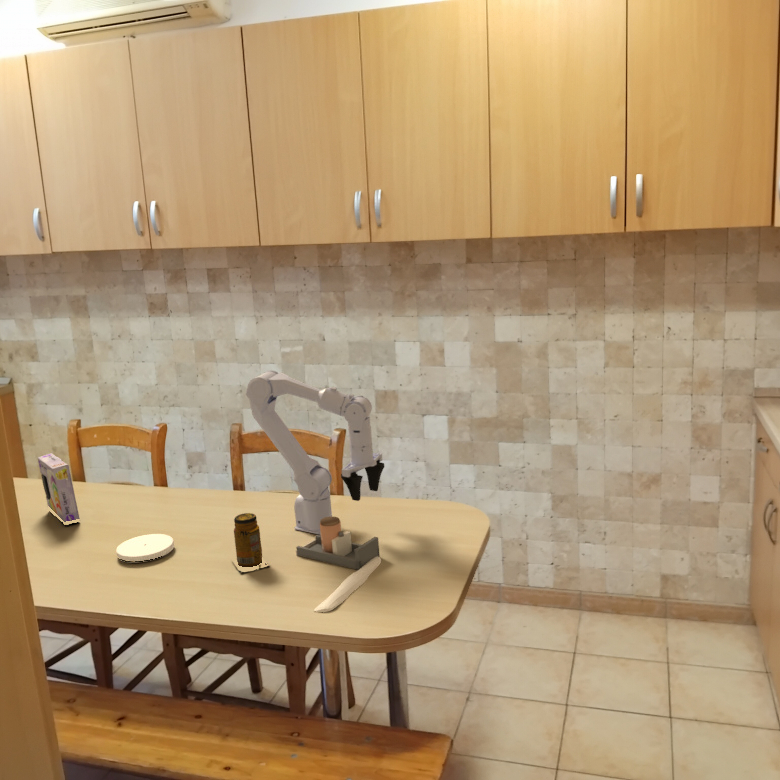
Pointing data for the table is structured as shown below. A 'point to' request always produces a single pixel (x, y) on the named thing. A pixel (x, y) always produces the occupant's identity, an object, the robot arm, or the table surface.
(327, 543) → the jar
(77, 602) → the table surface
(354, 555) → the grey tray
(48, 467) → the cake pan box
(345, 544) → the pusher
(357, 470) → the robot arm
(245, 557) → the condiment
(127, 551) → the plastic lid
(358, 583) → the spatula
